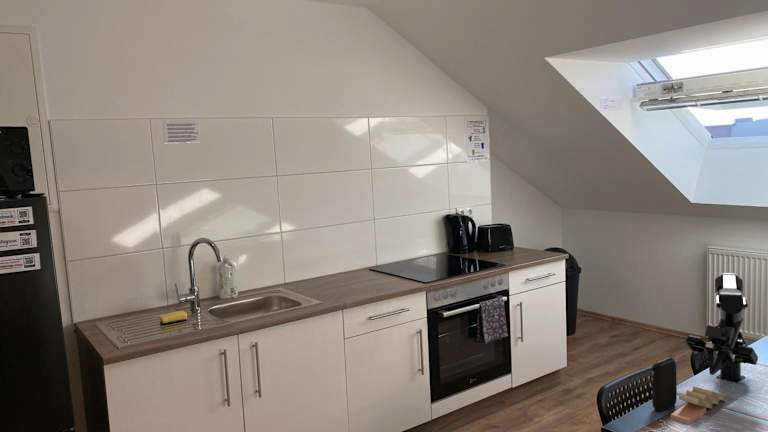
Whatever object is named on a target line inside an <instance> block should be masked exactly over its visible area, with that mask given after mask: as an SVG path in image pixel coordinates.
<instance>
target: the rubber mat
mask: <svg viewBox="0 0 768 432" xmlns="http://www.w3.org/2000/svg"><path fill="white" fill-rule="evenodd" d="M737 400H738V398H736V397H732V396H728V395H726V396H725V401H724V400H719V405H717V404H714V403H713V406H712V409H711V408H707V407H706V413H705V414H704V415H703V416H707V417H713V416H714V415H716V414H717V413H719V412H721V411H722V410H723V409H724V408H727V407H728V406H730V405H731V404H733V403H734V402H736V401H737ZM686 403H688V402H686V401H685V403H683V404H682V405H680V406H679V408H680V407H682V406H683V405H685V404H686Z"/></svg>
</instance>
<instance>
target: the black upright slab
mask: <svg viewBox="0 0 768 432" xmlns="http://www.w3.org/2000/svg"><path fill="white" fill-rule="evenodd" d="M650 381H651V395H652V397H651V398H652V400H651V403H652V408H653V409H654V411H655V412H661V411H664V410H667V409H668V408H670V407H673V406H675V405H676V403H677V400H678V399H677V395H678V394H677V389H678V388H677V387H678V385H677V384H678V383H677V382H678V381H677V363H676V361H675V359H674V358H673V357H667V358H664V359H662V360H659V361H657V362H655V363H653V365H652V367H651V376H650Z"/></svg>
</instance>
